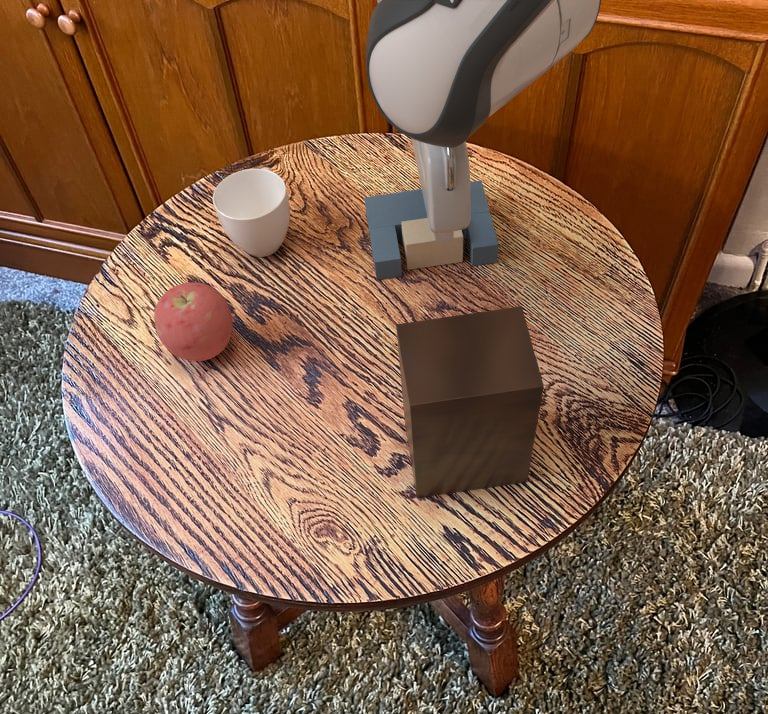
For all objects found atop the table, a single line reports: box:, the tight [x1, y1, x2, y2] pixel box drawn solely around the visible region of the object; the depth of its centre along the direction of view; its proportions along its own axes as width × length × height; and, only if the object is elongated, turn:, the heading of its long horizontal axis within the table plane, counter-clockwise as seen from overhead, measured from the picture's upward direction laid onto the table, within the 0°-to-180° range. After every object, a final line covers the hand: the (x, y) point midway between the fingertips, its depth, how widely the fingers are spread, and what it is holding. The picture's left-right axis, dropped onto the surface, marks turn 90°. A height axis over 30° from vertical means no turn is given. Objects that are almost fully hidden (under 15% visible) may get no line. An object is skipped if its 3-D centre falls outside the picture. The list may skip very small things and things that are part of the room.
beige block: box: [401, 218, 464, 271], centre depth 82 cm, size 6×4×4 cm, turn 97°
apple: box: [153, 281, 234, 362], centre depth 76 cm, size 7×7×8 cm
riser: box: [395, 305, 545, 499], centre depth 65 cm, size 10×8×14 cm
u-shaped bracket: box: [363, 179, 500, 281], centre depth 83 cm, size 13×10×2 cm
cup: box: [212, 166, 291, 258], centre depth 83 cm, size 8×10×7 cm
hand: (436, 204), depth 77 cm, fingers open, 8 cm apart
